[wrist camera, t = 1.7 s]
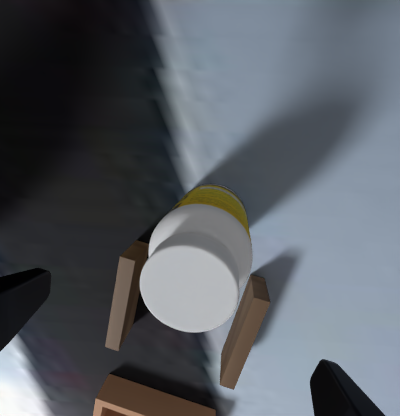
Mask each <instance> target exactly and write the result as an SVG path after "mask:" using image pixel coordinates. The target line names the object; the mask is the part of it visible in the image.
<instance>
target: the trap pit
mask: <svg viewBox="0 0 400 416" xmlns="http://www.w3.org/2000/svg"><path fill="white" fill-rule="evenodd" d="M215 414H216V410H214V409H211V408H208V407H206V406H203V405H200V404H197V403H194V402H191V401H188V400H185V399H182V398H179V397H176V396H173V395H170V394H167V393H164V392H162V391H159V390H156V389H153V388H150V387H147V386H144V385H141V384H138V383H135V382H132V381H129V380H126V379H123V378H121V377H118V376H115V375H112V374H109V375H108V377H107V379H106V380H105V382H104V384H103V386H102V388H101V390H100V392H99V393H98V395H97V397H96V400H95V406H94V413H93V416H215Z"/></svg>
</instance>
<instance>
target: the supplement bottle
mask: <svg viewBox="0 0 400 416" xmlns="http://www.w3.org/2000/svg"><path fill="white" fill-rule="evenodd" d="M251 266H252V244H251V238H250V233H249V227H248V221H247V215H246V211H245V207H244V205H243V203H242V201H241V199H240V198H239V197H238V196H237V195H236V193H234V192H233V191H232V190H230V189H229V188H227V187H224V186H222V185H217V184H205V185H200V186H198V187H196V188H194V189H192V190H191V191H189V192H188V193H187V194H186V195H185V196H184V197H183V198H182V199H181V200H180V201H179V202H178V203H177V204H176V205H175V206H174V207H173V208H172V209H171V210H170V211H169V212H168V213H167V214H166V215H165V216H164V217H163V219H162V220H161V221H160V222H159V223H158V225H157V226H156V228H155V229H154V231H153V233H152V236H151V239H150V243H149V258H148V260H147V261H146V263H145V265H144V267H143V269H142V272H141V276H140V291H141V295H142V298H143V300H144V303H145V305H146V306H147V308H148V309H149V311H150V312H151V313H152V314H153V315H154V316H155V317H156V318H157V319H158V320H160V321H161V322H163V323H164V324H166V325H168V326H170V327H172V328H174V329H177V330H181V331H185V332H204V331H209V330H212V329H215V328H217V327H219V326H221V325H222V324H224V323H225V322H226V321H227V320H228V319H229V318H230V317H231V316H232V314H233V313H234V311H235V309H236V307H237V304H238V300H239V289H240V288H241V287H242V286H243V284H244V283H245V281H246V280H247V278H248V276H249V273H250V270H251Z"/></svg>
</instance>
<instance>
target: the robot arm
mask: <svg viewBox="0 0 400 416" xmlns="http://www.w3.org/2000/svg"><path fill="white" fill-rule="evenodd" d="M50 284H51V273H50V272H49V271H47V270H44V269H41V268H35V269H31V270H27V271H23V272H19V273H15V274H11V275H7V276H3V277H0V351H1V350H2V349H3V348H4V347H5V346H6V345H7V344H8V343H9V342H10V341H11V340H12V339H13V338H14V336H15V335H16V334H17V333H18V332H19V331H20V329H21V328H22V327H23V326H24V325H25V324H26V322H27V321H28V320H29V319H30V318H31V317H32V315H33V314H34V313H35V312H36V311H37V310H38V308H39V307H40V306H41V305H42V304H43V303H44V301H45V300H46V299H47V298H48V296H49V293H50ZM310 389H311V395H312V402H313V409H314V415H315V416H385V415H384V414H383V413H382V411H381V410H380V409H379V408H378V407H377V406H376V405H375V404H374V403H373V402H372V401H371V400H370V399H369V397H368V396H367V395H366V394H365V393H364V392H363V391H362V390H361V389H360V388H359V387H358V386H357V384H356V383H355V382H354V381H353V380H352V379H351V378H350V377H349V376H348V375H347V374H346V373H345V371H344V370H343V369H342V368H341V367H340V366H339V365H338V364H337V363H335V362H332V361H328V360H325V359H322V360H321V361H320V362H319V364H318V365H317V367H316V369H315V371H314V373H313V374H312V376H311V379H310Z"/></svg>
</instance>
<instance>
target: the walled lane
mask: <svg viewBox="0 0 400 416" xmlns="http://www.w3.org/2000/svg"><path fill="white" fill-rule="evenodd" d="M148 249H149V244H147V243H144V242H141V241H137V240H136V241H135V242H134V243H133V244H132V245H131V246H130V247H129V248H128V249H127V250H126V251H125V252H124V253H123V254H122V255H121V256H120V259H119V265H118V271H117V277H116V283H115V289H114V296H113V302H112V308H111V314H110V320H109V326H108V332H107V339H106V345H105V347H107V348H110V349H113V350H116V351H119V349H120V347H121V345H122V343H123V342H124V340H125V338H126V336H127V334H128V333H129V331H130V329H131V327H132V325H133V322H134V317H135V313H136V308H137V303H138V298H139V293H140V276H141V272H142V269H143V267H144V265H145V263H146V258H147V254H148ZM269 304H270V299H269V295H268V291H267V287H266V283H265V279H264V278H261V277H258V276H254V275H250V277H249V280H248V283H247V285H246V288H245V291H244V293H243V296H242V299H241V302H240V304H239V307H238V310H237V312H236V315H235V318H234V320H233V323H232V326H231V329H230V331H229V334H228V337H227V339H226V342H225V345H224V347H223V350H222V353H221V371H220V385H221V386H224V387H227V388H230V389H233V390H234V388H235V386H236V383H237V381H238V378H239V376H240V374H241V371H242V369H243V366H244V364H245V362H246V359H247V357H248V355H249V352H250V350H251V347H252V345H253V343H254V340H255V338H256V335H257V333H258V331H259V328H260V326H261V324H262V321H263V319H264V316H265V314H266V312H267V309H268V307H269Z"/></svg>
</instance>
